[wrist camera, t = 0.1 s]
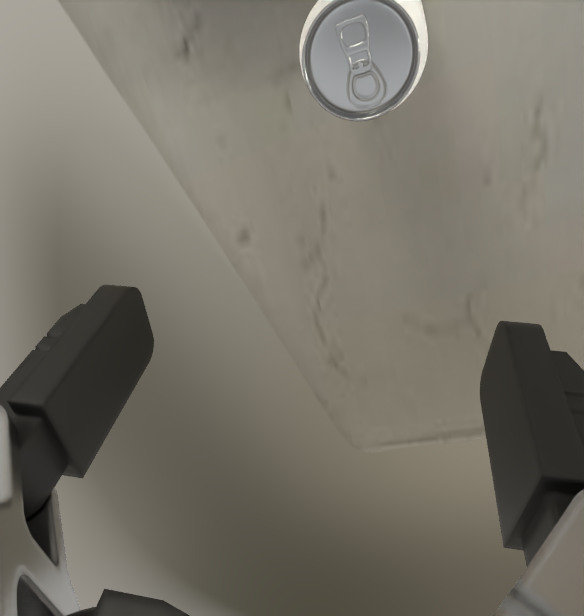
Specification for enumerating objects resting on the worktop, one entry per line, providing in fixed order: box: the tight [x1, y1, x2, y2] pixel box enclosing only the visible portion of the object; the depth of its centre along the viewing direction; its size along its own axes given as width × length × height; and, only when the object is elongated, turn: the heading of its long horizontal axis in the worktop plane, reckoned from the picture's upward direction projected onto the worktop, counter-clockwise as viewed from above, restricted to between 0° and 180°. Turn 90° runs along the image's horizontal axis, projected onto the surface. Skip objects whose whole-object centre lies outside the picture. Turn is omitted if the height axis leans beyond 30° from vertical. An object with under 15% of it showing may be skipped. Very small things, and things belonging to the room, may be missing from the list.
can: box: [299, 0, 428, 121], centre depth 27 cm, size 6×6×12 cm
